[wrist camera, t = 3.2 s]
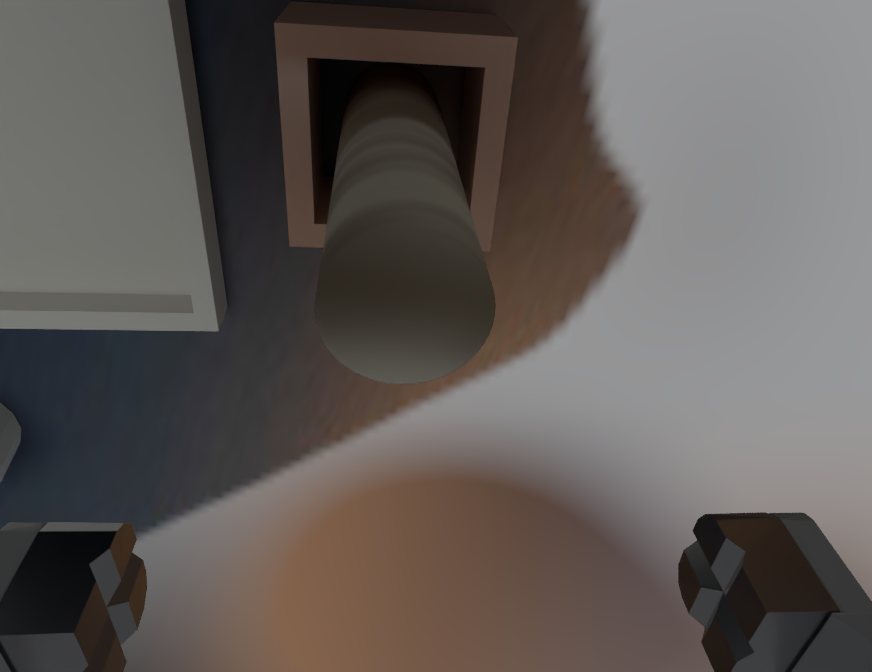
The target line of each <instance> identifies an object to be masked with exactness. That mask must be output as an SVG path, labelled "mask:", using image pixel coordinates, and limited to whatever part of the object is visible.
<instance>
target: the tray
mask: <svg viewBox="0 0 872 672" xmlns="http://www.w3.org/2000/svg"><path fill="white" fill-rule="evenodd" d="M227 307H228V306H227V299H226V292H225V285H224V278H223V271H222V263H221V256H220V249H219V242H218V235H217V227H216V220H215V213H214V206H213V199H212V192H211V184H210V177H209V170H208V163H207V156H206V148H205V141H204V134H203V127H202V120H201V113H200V105H199V98H198V91H197V84H196V77H195V70H194V62H193V55H192V48H191V41H190V34H189V26H188V19H187V12H186V5H185V0H0V328H5V329H82V330H160V331H219V329H220V326H221V323H222V321H223V318H224V315H225V312H226V310H227Z"/></svg>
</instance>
